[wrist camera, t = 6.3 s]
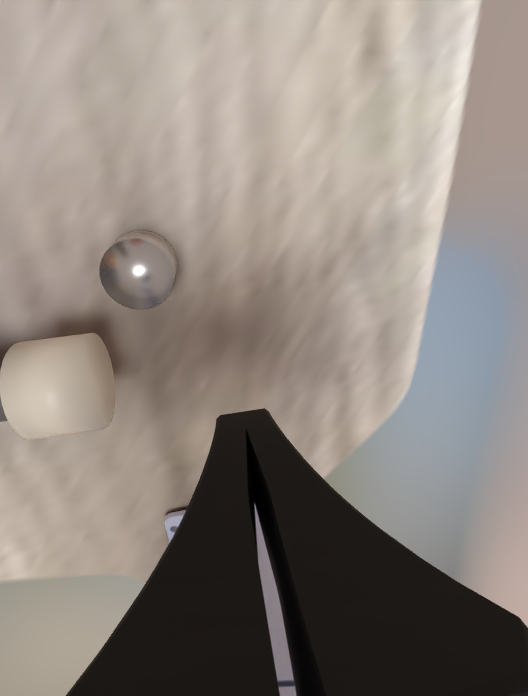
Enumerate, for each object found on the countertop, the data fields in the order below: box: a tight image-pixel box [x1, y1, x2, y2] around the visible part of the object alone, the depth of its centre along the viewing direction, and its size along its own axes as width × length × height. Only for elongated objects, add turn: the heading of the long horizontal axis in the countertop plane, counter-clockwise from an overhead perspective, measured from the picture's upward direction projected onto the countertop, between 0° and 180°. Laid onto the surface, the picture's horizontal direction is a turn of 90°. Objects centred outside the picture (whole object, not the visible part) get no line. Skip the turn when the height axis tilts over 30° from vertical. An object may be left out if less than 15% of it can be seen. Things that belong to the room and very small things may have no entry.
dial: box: [100, 230, 177, 310], centre depth 14 cm, size 3×3×2 cm
